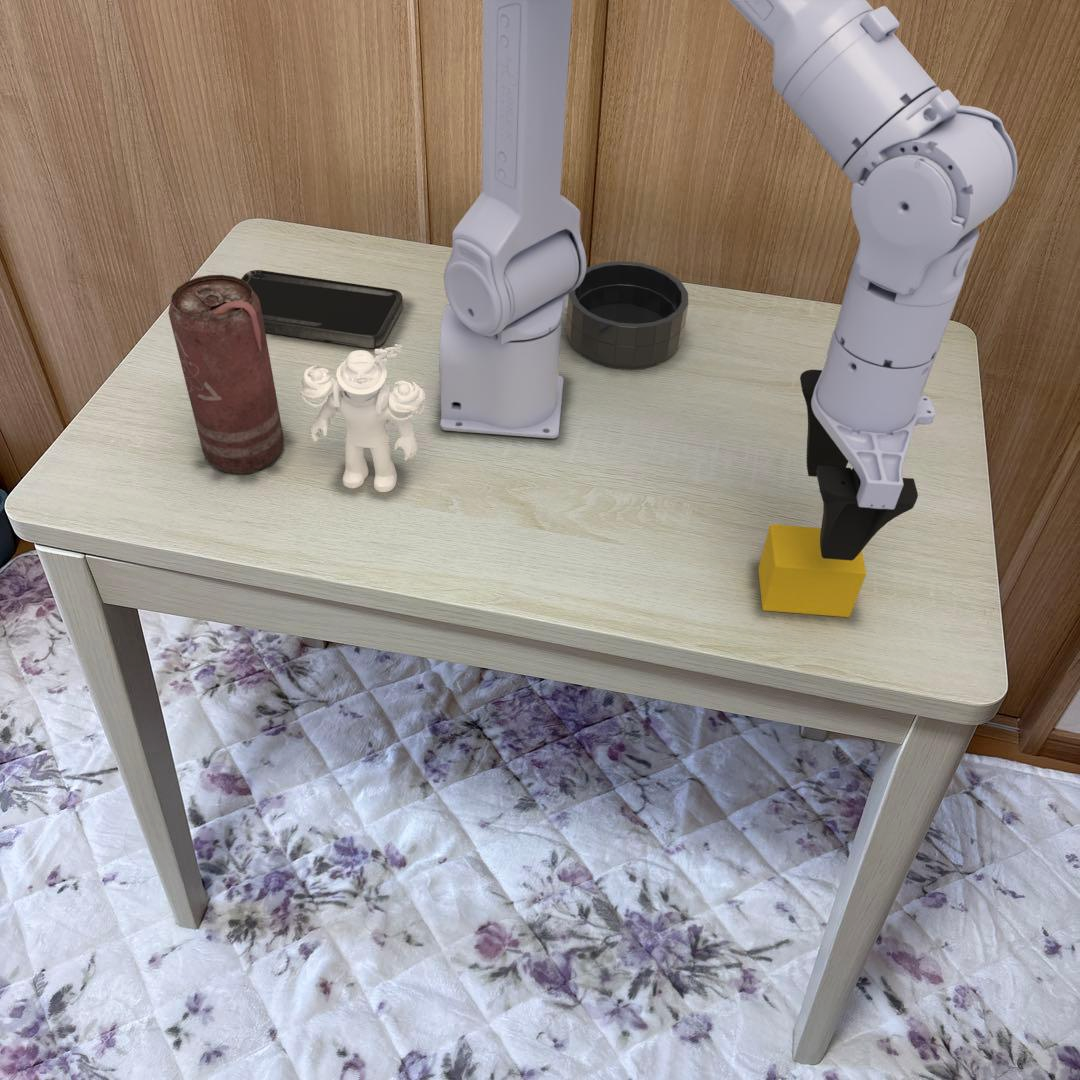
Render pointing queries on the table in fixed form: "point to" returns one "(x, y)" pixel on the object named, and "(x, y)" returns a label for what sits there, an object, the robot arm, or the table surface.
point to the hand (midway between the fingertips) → (829, 513)
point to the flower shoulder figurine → (365, 413)
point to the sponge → (806, 574)
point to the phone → (325, 308)
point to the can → (227, 372)
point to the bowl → (627, 315)
